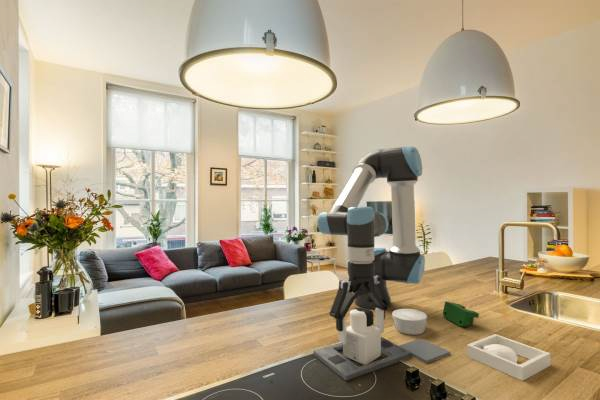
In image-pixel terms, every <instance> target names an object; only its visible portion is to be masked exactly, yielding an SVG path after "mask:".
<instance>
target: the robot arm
mask: <svg viewBox="0 0 600 400" xmlns="http://www.w3.org/2000/svg"><path fill="white" fill-rule="evenodd" d="M422 174H423V163H422V158H421V155H420V153H419V150H418V149H417V148H416V147H415V146H401V147H393V148H383V149H381V148H380V149H376V150H372V151H371V152H369V153H367V154H365V156H363V157H362V158H361V159H360V160H358V162H356V164H355V165H354V167H353V169H352V175H351V177H350V178H349V181H348V182H347V184H346V185H345V187H344V189H343V190H342V192H340V195H339V196H338V199H337V200H336V201H335V203H334V205H333V206H332V208H331V209H330V211H323V212H320V213H319V215H318V217H317V225H316V226H317V228H318V231H319V233H321V234H324V235H331V236H347V256H346V257H347V260H348V262H347V275H348V280H347V281H346V280H342V279H341V280H339V281H338V289H337V293H336V295H335V298H334V301H333V303H332V306H331V308H330V310H329V316H330V317H332V318H333V319H335V327H336V331H337V332H338V333H337V334H338V335H337V341H338V342H339V343H343V344H347V340H346V327H347V319H346V315H347V313H348V312H349V310H350V308H351V307H352V305H353V303H354V304H355V305H357V306H358V307H360V308H367V309H374V310H375V319H374V320H375V322H374V323H375V327H377V328H380V330H381V334H385V319H386V311H388V310H389V307H391V304H392V299H391V296H390V293H389V290H388V286H387V281H388V282H396V283H403V284H407V285H409V284H413V285H414V284H415V285H417V284H419V283H420V282H421V281H422V280H423V279H422V278H423V275H424V272H425V264H426V257H425V255H424V254H422V253H421V251H420V248H419V247H418V246H417V244H416V219H415V217H416V216H415V212H416V211H415V188H414V187H415V185H416V183H417V182H418V181H419V179H418V178H419V177H421V176H422ZM376 179H386V183H387V184H389V186H390V193H391V196H390V197H391V219H392V222H391V223H392V245H391V247H389V251H387V248H385V247H375V238H378V237H380V236H382V235H383V234H385V233H386V232H387V231H388V228H389V224H390V223H389V219H388V217H387V216H386V215H385V214H384V213H382V212H379V211H375V210H374V208H373V207H372V206H359V205H360V203H361V201H362V199H363V197H364V196H365V194H366V192H367V190H368V188H369V186H370V184H372V183H374V182H375V181H376Z"/></svg>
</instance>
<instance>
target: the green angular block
mask: <svg viewBox="0 0 600 400" xmlns="http://www.w3.org/2000/svg"><path fill="white" fill-rule="evenodd" d="M442 316H443V317H444V318H445V319H447V320H448V321H450V322H452V323H454V324H455V325H457V326H459V327H462V328H468V327H469V325H473V324H474V319H475V318H477V319H479V317H480V313H479V312H477V311H474V310H472V309H471V310H470V309H467V308H466V306H464V305H462V304H460V303H456V302H451V301H444V306H443V310H442Z"/></svg>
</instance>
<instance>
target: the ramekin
mask: <svg viewBox="0 0 600 400" xmlns="http://www.w3.org/2000/svg"><path fill="white" fill-rule="evenodd" d="M391 317H392V320H393V323H394V328H395V329H396V330H397V331H398V332H399V333H401V334H406V335H409V336H410V335H412V336H413V335H415V336H416V335H421V334H423V333H424V332H425V331H426V325H427V320H428V315H427V313H426V312H424V311H420V310H417V309H414V308H398V309H395V310H393V311H392V315H391Z"/></svg>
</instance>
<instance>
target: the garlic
mask: <svg viewBox="0 0 600 400" xmlns="http://www.w3.org/2000/svg"><path fill="white" fill-rule="evenodd" d="M483 350H485V351H488V352H490V353H492V354H495V355H497V356H500V357H502V358H505V359H507V360H510V361H512V362H514V363H517V364H518V355H517V354H516V353H515V352H514V351H513V349H511V348H509V347H507V346H504V345H500V344H491V345H487V346H486V345H485V346H484V348H483Z"/></svg>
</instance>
